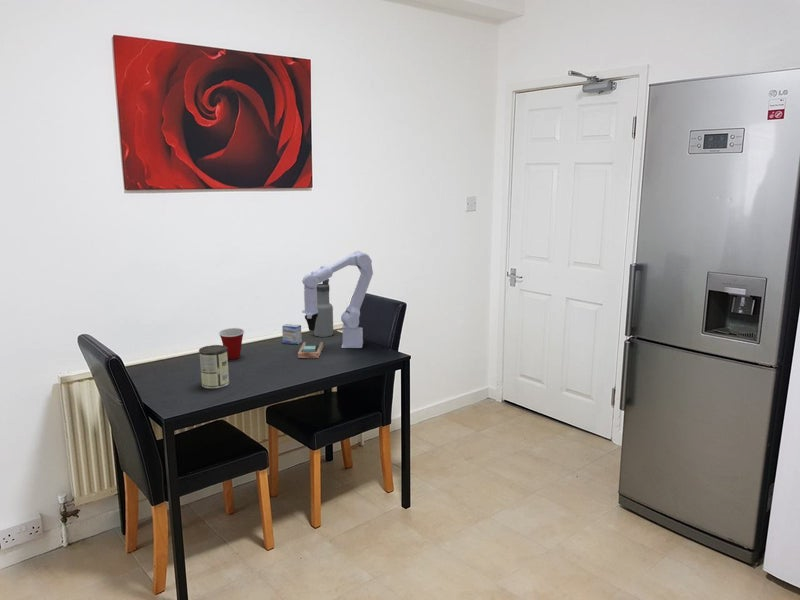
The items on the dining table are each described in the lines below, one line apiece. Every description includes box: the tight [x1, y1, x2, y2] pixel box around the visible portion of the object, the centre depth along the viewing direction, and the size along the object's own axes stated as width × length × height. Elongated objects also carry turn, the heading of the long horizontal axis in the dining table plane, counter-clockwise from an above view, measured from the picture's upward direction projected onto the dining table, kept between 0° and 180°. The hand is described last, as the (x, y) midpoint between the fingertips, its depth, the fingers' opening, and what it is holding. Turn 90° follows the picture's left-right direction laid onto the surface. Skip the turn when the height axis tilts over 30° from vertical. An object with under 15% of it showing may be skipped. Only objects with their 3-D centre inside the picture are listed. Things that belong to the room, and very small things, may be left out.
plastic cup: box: [218, 327, 245, 360], centre depth 271 cm, size 11×11×12 cm
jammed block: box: [303, 345, 317, 352], centre depth 275 cm, size 5×5×4 cm
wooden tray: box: [297, 341, 324, 360], centre depth 280 cm, size 9×18×2 cm, turn 1°
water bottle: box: [313, 278, 334, 338], centre depth 308 cm, size 10×10×28 cm
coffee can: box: [198, 344, 230, 389], centre depth 237 cm, size 10×10×14 cm
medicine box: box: [281, 323, 303, 345], centre depth 296 cm, size 8×4×9 cm, turn 73°
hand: (311, 330), depth 283 cm, fingers closed
